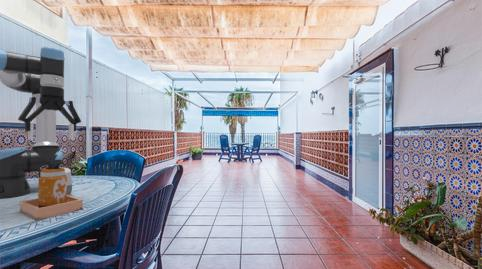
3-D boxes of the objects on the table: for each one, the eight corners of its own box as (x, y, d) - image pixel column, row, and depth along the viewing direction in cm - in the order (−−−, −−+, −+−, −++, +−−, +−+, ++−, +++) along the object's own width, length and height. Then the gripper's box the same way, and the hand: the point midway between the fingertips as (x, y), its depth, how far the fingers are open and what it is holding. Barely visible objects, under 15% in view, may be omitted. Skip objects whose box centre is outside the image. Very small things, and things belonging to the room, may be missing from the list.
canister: (50, 212, 90) (51, 160, 90) (27, 210, 93) (28, 159, 92) (72, 205, 99) (72, 158, 99) (50, 203, 101) (51, 157, 101)
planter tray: (19, 211, 94) (19, 201, 94) (63, 202, 107) (63, 193, 107) (36, 220, 85) (37, 209, 85) (82, 209, 98) (82, 199, 98)
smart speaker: (52, 200, 110) (52, 170, 110) (44, 197, 115) (44, 168, 115) (75, 195, 118) (75, 167, 118) (66, 193, 123) (67, 166, 123)
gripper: (14, 80, 83) (14, 140, 83) (90, 91, 104) (89, 139, 105) (7, 82, 87) (7, 139, 87) (81, 92, 108) (81, 138, 109)
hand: (52, 139), depth 96 cm, fingers open, 13 cm apart
